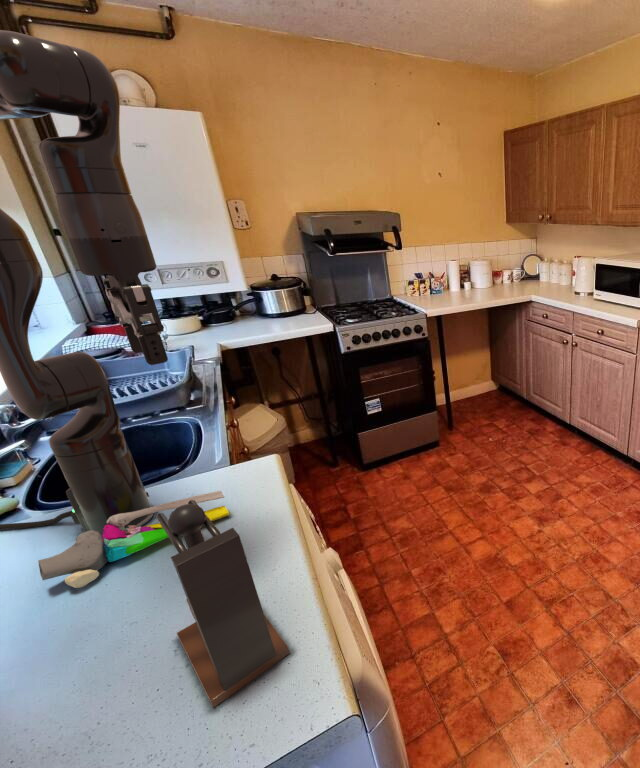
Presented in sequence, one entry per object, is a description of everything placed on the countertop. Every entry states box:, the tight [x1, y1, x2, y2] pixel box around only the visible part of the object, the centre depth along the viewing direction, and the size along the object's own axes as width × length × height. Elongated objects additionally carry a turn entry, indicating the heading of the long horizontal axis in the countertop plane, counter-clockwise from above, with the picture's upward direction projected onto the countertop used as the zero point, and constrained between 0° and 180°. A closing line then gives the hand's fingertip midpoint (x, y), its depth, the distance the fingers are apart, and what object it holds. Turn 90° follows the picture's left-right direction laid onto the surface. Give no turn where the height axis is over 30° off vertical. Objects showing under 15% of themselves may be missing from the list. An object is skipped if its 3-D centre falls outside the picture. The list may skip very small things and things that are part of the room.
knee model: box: [37, 490, 230, 589], centre depth 76 cm, size 9×8×25 cm
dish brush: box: [167, 504, 206, 622], centre depth 55 cm, size 7×5×18 cm
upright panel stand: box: [155, 500, 291, 708], centre depth 55 cm, size 14×9×20 cm, turn 49°
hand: (150, 357), depth 61 cm, fingers open, 8 cm apart
